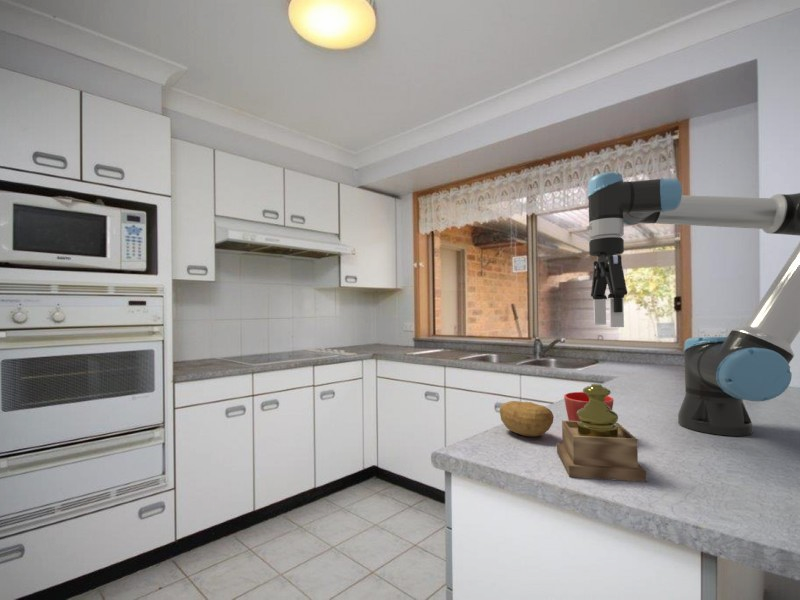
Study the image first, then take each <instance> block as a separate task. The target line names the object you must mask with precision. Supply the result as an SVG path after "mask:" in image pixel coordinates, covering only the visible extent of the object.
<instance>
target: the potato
mask: <svg viewBox="0 0 800 600" xmlns="http://www.w3.org/2000/svg"><path fill="white" fill-rule="evenodd" d="M499 414H500V419H501V422H502V423H503V425H504V426H505V427H506V429H507V430H510V431H511V432H514V433H516V434H519V435H521V436H524V437H531V438H532V437H533V438H535V437H539V436H542V435H545V433H546V432H548V431H549V430H550V428H551V427H552V425H553V423H554V414H553V412H552V410H550V409H549V407H547V406H544V405H541V404H538V403H534V402H531V401H518V400H511V401H507V402H504V403H503V404H501V405H500V408H499Z"/></svg>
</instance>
